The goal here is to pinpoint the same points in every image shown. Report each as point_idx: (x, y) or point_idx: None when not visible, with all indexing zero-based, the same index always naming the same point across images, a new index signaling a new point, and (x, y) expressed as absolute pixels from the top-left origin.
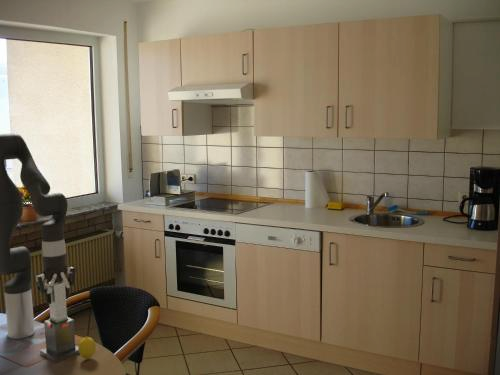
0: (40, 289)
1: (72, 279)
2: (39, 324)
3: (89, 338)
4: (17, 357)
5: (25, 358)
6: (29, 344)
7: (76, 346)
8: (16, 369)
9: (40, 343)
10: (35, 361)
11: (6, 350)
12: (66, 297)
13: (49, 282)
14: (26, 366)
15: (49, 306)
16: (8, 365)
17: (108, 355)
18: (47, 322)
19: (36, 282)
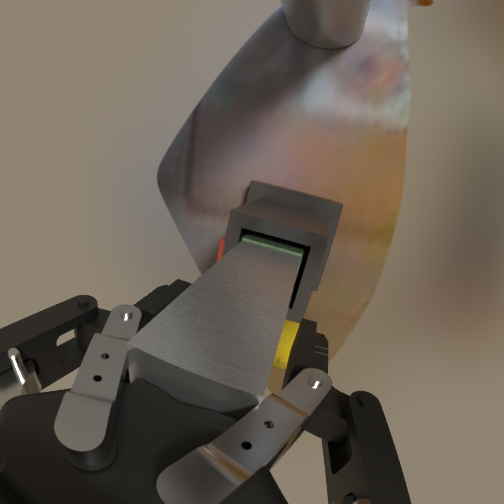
0: (64, 343)
1: (333, 470)
2: (400, 19)
3: (286, 366)
4: (210, 137)
5: (216, 162)
6: (288, 91)
7: (322, 266)
8: (167, 197)
9: (310, 115)
10: (217, 204)
11: (227, 72)
12: (289, 356)
13: (141, 356)
14: (188, 207)
15: (223, 256)
16: (171, 159)
17: (328, 353)
18: (225, 239)
19: (15, 331)
